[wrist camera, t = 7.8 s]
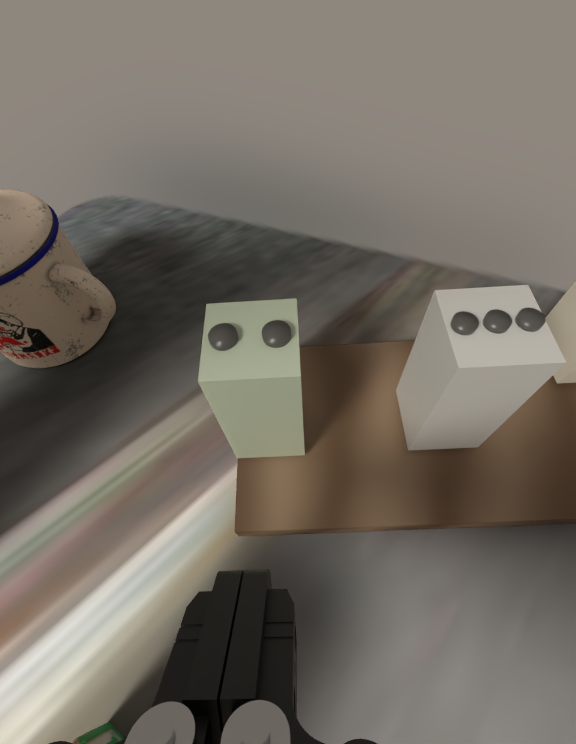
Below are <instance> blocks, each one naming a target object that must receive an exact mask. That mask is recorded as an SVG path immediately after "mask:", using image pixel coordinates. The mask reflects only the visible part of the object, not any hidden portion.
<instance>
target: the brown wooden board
mask: <svg viewBox="0 0 576 744" xmlns="http://www.w3.org/2000/svg"><path fill="white" fill-rule="evenodd" d="M414 342H415V341H396V342H378V343H360V344H342V345H323V346H305V347H299V351H300V370H301V389H302V409H303V429H304V449H305V455H300V456H278V457H256V458H238V467H237V491H236V515H235V533H236V534H237V535H238V536H260V535H285V534H311V533H336V532H362V531H387V530H413V529H438V528H464V527H489V526H515V525H540V524H566V523H576V383H557V382H556V380H555V378H554V376H552V377H551V378H550V379H549V380H548V381H546V382H545V383H544V384H543V385H542V386H541V387H540V388H539V389H538V390H537V391H536V392H535V393H534V394H533V395H532V396H531V397H530V398H529V399H528V400H527V401H526V402H525V403H524V404H523V405H522V406H520V407H519V408H518V409H517V410H516V411H515V412H514V413H513V414H512V415H511V416H510V417H509V418H508V419H507V420H506V421H505V422H504V423H503V424H502V425H501V426H500V427H499V428H498V429H497V430H495V431H494V432H493V433H492V434H491V435H490V436H489V437H488V438H487V439H486V440H485V441H484V442H483V443H482V444H481V445H480V446H479V447H475V448H453V449H431V450H409V451H408V448H407V443H406V438H405V433H404V428H403V423H402V418H401V413H400V408H399V403H398V398H397V393H396V389H397V386H398V384H399V381H400V378H401V376H402V373H403V371H404V368H405V365H406V363H407V360H408V358H409V355H410V352H411V350H412V347H413V345H414Z"/></svg>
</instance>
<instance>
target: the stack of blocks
mask: <svg viewBox="0 0 576 744" xmlns="http://www.w3.org/2000/svg"><path fill="white" fill-rule="evenodd" d="M123 739H124V737H123V736H122V735H121V734H120V733H119V732H118V731H117V730H116V729H115V728H114V727H113V726H112V725H111V724H110V723H105V724H104V725H102V726H99V727H98V728H95V729H93V730H91V731H89V732H87V733H85V734H84V735H82V736H79V737H77V738H76V739H75V740H74V741H73V742H72V743H71V744H115V743H117V742H119V741H121V740H123Z"/></svg>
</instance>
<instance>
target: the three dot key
mask: <svg viewBox="0 0 576 744" xmlns="http://www.w3.org/2000/svg"><path fill="white" fill-rule="evenodd" d="M565 363H566V361H565V359H564V357H563V355H562V353H561V351H560V349H559V347H558V345H557V343H556V340H555V338H554V336H553V334H552V332H551V330H550V328H549V326H548V324H547V322H546V319H545V316H544V315H543V313H542V312H541V310H540V308H539V306H538V304H537V302H536V300H535V298H534V296H533V294H532V292H531V290H530V288H529V286H528V285H517V286H500V287H483V288H466V289H449V290H434V293H433V295H432V298H431V301H430V303H429V306H428V308H427V311H426V314H425V316H424V319H423V321H422V324H421V327H420V329H419V332H418V334H417V337H416V339H415V342H414V345H413V347H412V350H411V352H410V355H409V358H408V360H407V363H406V365H405V368H404V371H403V373H402V376H401V378H400V381H399V384H398V386H397V389H396V393H397V398H398V403H399V408H400V413H401V418H402V423H403V428H404V433H405V438H406V443H407V448H408V451H409V450H431V449H453V448H475V447H479V446H480V445H481V444H482V443H483V442H484V441H485V440H486V439H487V438H488V437H489V436H490V435H491V434H492V433H493V432H494V431H495V430H497V429H498V428H499V427H500V426H501V425H502V424H503V423H504V422H505V421H506V420H507V419H508V418H509V417H510V416H511V415H512V414H513V413H514V412H515V411H516V410H517V409H518V408H519V407H520V406H522V405H523V404H524V403H525V402H526V401H527V400H528V399H529V398H530V397H531V396H532V395H533V394H534V393H535V392H536V391H537V390H538V389H539V388H540V387H541V386H542V385H543V384H544V383H545V382H546V381H548V380H549V379H550V378H551V377H552V376H553V375H554V374H555V373H556V372H557V371H558V370H559V369H560V368H561V367H562V366H563V365H564V364H565Z"/></svg>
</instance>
